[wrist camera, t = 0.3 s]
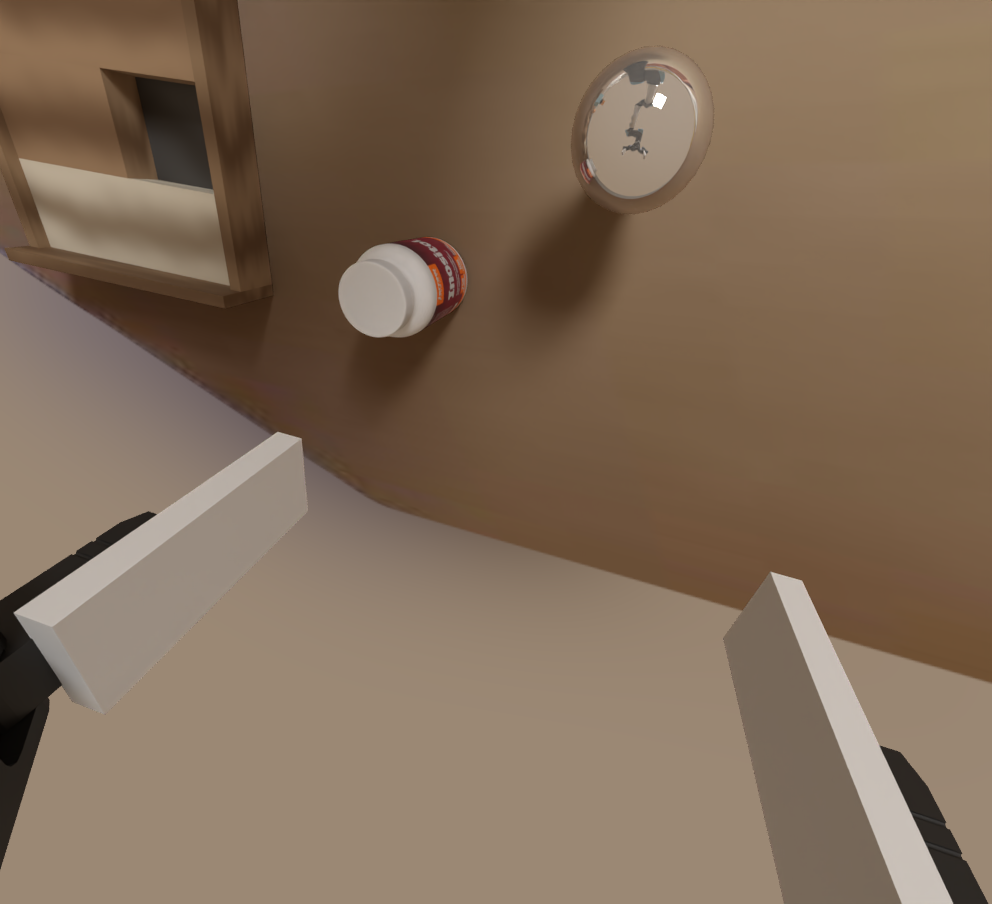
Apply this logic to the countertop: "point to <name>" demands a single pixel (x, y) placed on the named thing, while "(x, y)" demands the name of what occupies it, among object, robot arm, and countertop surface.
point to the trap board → (133, 145)
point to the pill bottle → (402, 287)
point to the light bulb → (642, 129)
